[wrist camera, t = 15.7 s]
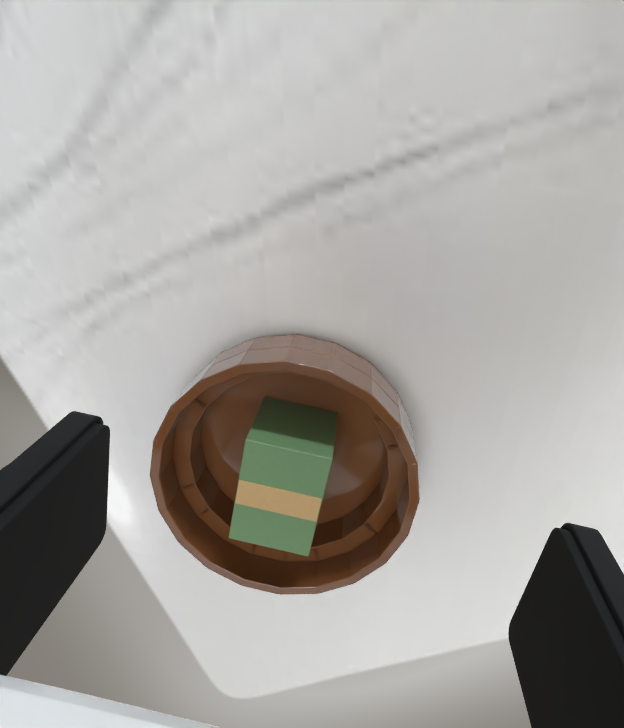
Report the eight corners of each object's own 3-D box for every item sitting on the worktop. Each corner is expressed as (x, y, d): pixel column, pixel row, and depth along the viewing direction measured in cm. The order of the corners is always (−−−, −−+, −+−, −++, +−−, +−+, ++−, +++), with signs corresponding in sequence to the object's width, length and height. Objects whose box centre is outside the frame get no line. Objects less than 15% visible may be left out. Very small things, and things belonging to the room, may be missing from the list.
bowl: (440, 362, 34) (453, 398, 29) (379, 560, 40) (381, 618, 35) (194, 308, 34) (163, 333, 29) (169, 511, 40) (140, 562, 35)
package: (338, 412, 35) (332, 460, 30) (317, 498, 38) (308, 558, 32) (265, 395, 35) (244, 440, 30) (248, 483, 38) (227, 539, 32)
